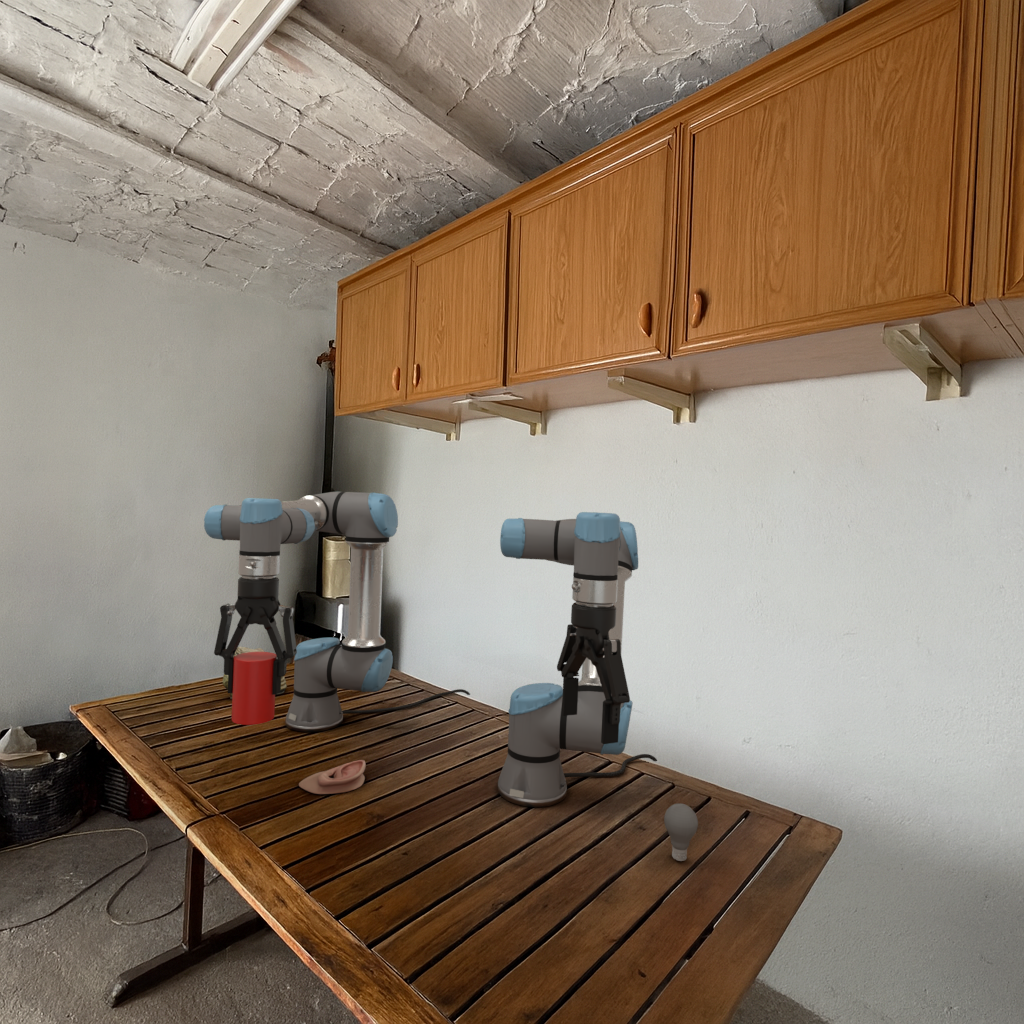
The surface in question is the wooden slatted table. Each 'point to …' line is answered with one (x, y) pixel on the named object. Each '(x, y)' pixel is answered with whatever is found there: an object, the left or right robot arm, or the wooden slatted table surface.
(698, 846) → the wooden slatted table surface
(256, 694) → the tin
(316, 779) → the anatomical model
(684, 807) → the light bulb
